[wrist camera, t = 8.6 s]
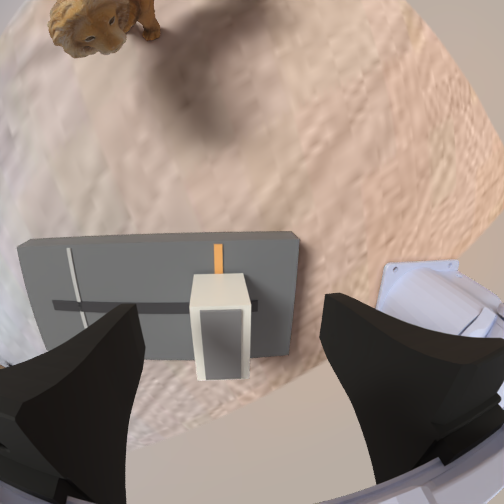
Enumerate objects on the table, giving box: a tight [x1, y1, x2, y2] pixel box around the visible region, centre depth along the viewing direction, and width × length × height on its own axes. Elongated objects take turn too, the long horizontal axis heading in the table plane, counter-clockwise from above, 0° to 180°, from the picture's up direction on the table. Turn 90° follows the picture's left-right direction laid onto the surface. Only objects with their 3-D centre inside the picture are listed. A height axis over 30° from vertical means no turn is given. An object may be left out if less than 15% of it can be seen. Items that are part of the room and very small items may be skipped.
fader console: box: [17, 231, 300, 360], centre depth 19 cm, size 20×9×2 cm, turn 89°
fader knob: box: [189, 273, 251, 381], centre depth 16 cm, size 3×5×4 cm, turn 179°
